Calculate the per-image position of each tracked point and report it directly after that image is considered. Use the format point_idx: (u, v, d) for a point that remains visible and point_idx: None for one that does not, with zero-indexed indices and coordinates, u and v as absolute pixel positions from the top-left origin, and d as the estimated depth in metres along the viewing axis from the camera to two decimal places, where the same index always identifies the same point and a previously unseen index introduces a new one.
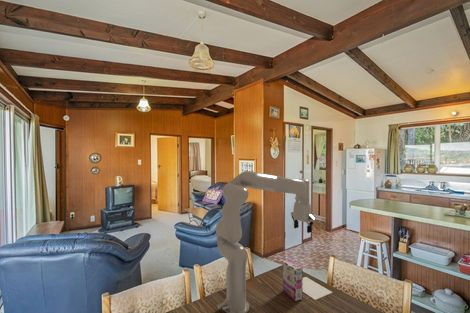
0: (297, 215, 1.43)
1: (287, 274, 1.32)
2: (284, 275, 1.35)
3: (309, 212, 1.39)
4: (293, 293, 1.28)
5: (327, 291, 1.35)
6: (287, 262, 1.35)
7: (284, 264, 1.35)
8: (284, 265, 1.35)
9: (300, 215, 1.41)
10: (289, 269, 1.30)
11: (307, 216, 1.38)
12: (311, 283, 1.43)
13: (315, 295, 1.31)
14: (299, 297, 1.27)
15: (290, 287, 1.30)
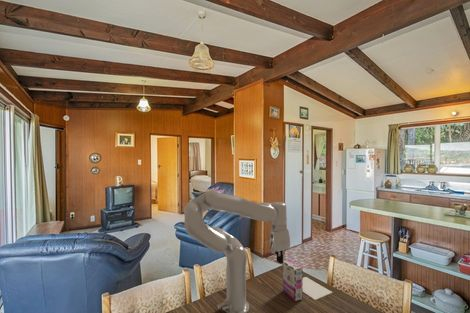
0: (281, 245, 1.24)
1: (287, 274, 1.32)
2: (284, 275, 1.35)
3: None
4: (293, 293, 1.28)
5: (327, 291, 1.35)
6: (287, 262, 1.35)
7: (284, 264, 1.35)
8: (284, 265, 1.35)
9: (284, 243, 1.25)
10: (289, 269, 1.30)
11: None
12: (311, 283, 1.43)
13: (315, 295, 1.31)
14: (299, 297, 1.27)
15: (290, 287, 1.30)
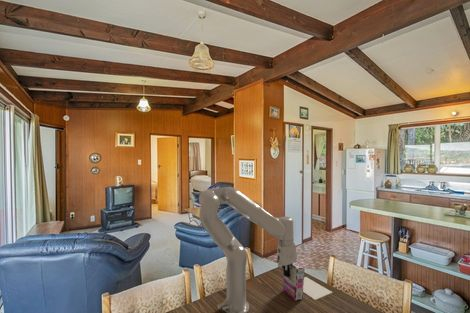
0: (288, 259, 1.27)
1: None
2: None
3: None
4: (293, 292, 1.28)
5: (327, 291, 1.35)
6: None
7: None
8: None
9: (291, 258, 1.28)
10: (291, 268, 1.31)
11: None
12: (311, 283, 1.43)
13: (315, 295, 1.31)
14: (300, 297, 1.27)
15: (291, 286, 1.30)
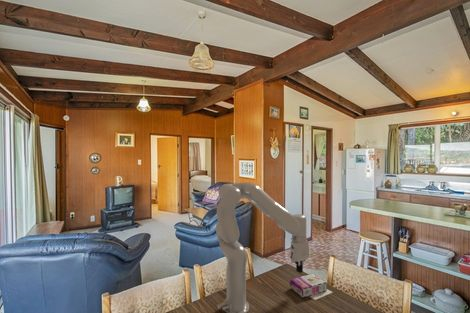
0: (301, 256, 1.31)
1: (311, 278, 1.39)
2: (305, 277, 1.41)
3: None
4: (305, 285, 1.31)
5: (327, 291, 1.35)
6: None
7: (313, 275, 1.43)
8: (312, 275, 1.43)
9: (304, 254, 1.32)
10: (319, 279, 1.38)
11: None
12: None
13: (315, 295, 1.31)
14: (304, 293, 1.29)
15: (306, 283, 1.34)
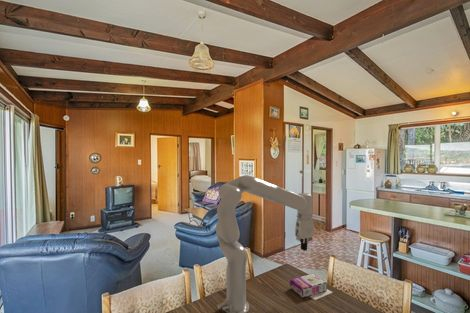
0: (306, 233, 1.33)
1: (311, 278, 1.39)
2: (305, 277, 1.41)
3: None
4: (305, 285, 1.31)
5: (327, 291, 1.35)
6: None
7: (313, 275, 1.43)
8: (312, 275, 1.43)
9: (308, 232, 1.34)
10: (319, 279, 1.38)
11: None
12: None
13: (315, 295, 1.31)
14: (304, 293, 1.29)
15: (306, 283, 1.34)
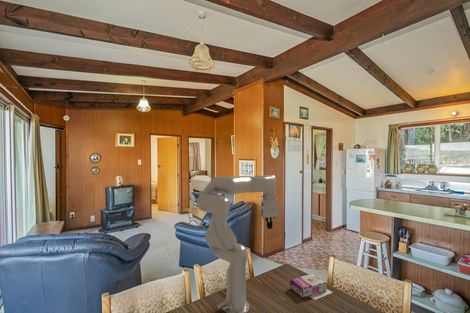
0: (270, 212, 1.41)
1: (311, 278, 1.39)
2: (305, 277, 1.41)
3: None
4: (305, 285, 1.31)
5: (327, 291, 1.35)
6: None
7: (313, 275, 1.43)
8: (312, 275, 1.43)
9: (273, 211, 1.42)
10: (319, 279, 1.38)
11: None
12: None
13: (315, 295, 1.31)
14: (304, 293, 1.29)
15: (306, 283, 1.34)
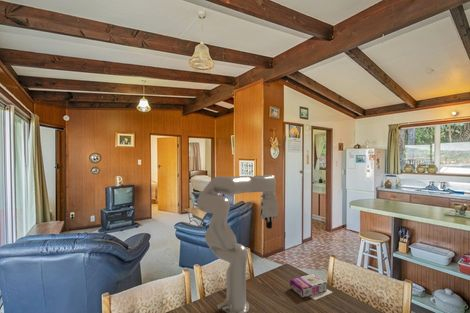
0: (270, 212, 1.41)
1: (311, 278, 1.39)
2: (305, 277, 1.41)
3: None
4: (305, 285, 1.31)
5: (327, 291, 1.35)
6: None
7: (313, 275, 1.43)
8: (312, 275, 1.43)
9: (272, 211, 1.42)
10: (319, 279, 1.38)
11: None
12: None
13: (315, 295, 1.31)
14: (304, 293, 1.29)
15: (306, 283, 1.34)
